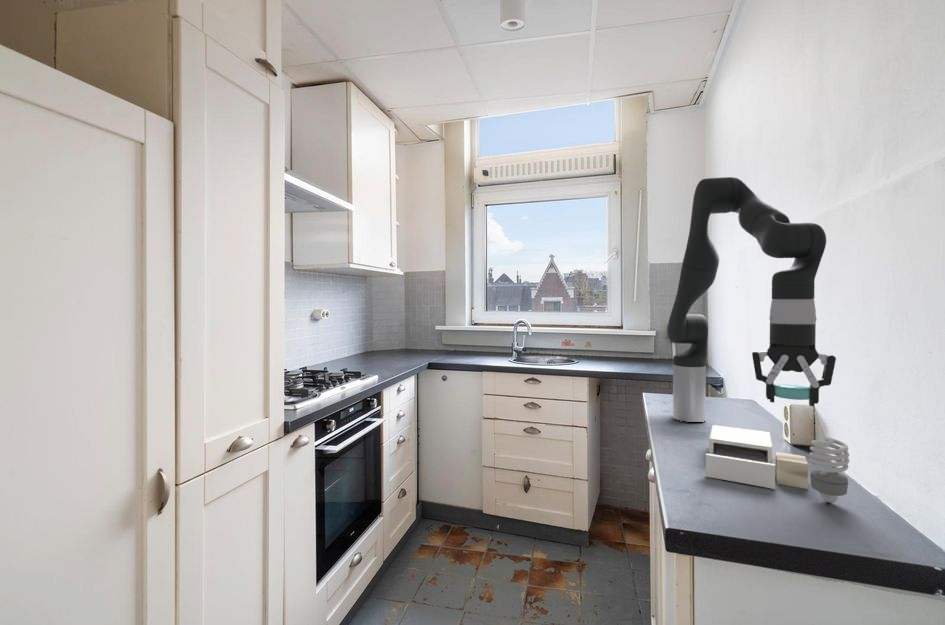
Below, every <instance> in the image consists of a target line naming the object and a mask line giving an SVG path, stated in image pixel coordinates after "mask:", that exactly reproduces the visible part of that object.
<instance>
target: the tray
mask: <svg viewBox="0 0 945 625" xmlns="http://www.w3.org/2000/svg"><path fill="white" fill-rule="evenodd" d="M705 477H708V478H713V479H719V480H723V481H724V480H725V481H729V482H734V483H740V484H745V485H751V486H757V487H761V488H767V489H768V488H769V489H772V490H775V489H776V476H775V463H772V464H771V463H766V456H760V455H753V454H746V453H740V452H733V451H727V450H720V449H715V453H714V454H709V452H708V453H705Z"/></svg>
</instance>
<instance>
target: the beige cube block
mask: <svg viewBox="0 0 945 625" xmlns="http://www.w3.org/2000/svg"><path fill="white" fill-rule="evenodd" d="M808 463H809V462H808V460H807V458H806V456H805V455H799V454H792V453H786V452H785V453H784V452H777V451H776V452H775V463H774V464H775V483H776V484H777V485H782V486H786V487H787V486H789V487H794V488H799V489H805V490H808V489H809V485H808V484H809V464H808Z"/></svg>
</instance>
